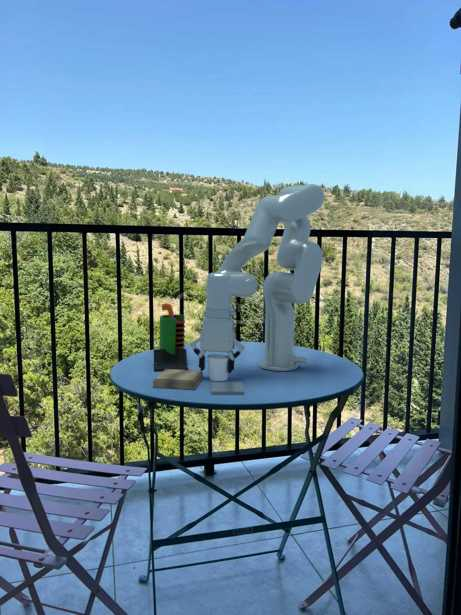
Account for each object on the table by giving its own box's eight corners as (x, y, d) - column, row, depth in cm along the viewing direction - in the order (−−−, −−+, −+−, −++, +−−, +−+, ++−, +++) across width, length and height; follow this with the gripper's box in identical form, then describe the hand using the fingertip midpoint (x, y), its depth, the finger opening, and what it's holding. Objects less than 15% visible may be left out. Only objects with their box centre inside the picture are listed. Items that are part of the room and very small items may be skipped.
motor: (184, 365, 172) (184, 306, 170) (157, 365, 172) (157, 305, 169) (186, 358, 182) (186, 302, 180) (160, 358, 182) (160, 302, 180)
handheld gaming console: (155, 368, 161) (156, 340, 166) (151, 377, 167) (151, 349, 172) (191, 371, 165) (190, 343, 170) (185, 380, 171) (184, 352, 176)
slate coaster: (242, 385, 150) (242, 382, 150) (244, 394, 141) (244, 391, 141) (211, 384, 150) (211, 382, 150) (211, 394, 141) (211, 391, 141)
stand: (202, 378, 157) (202, 370, 156) (194, 389, 145) (194, 381, 144) (164, 376, 158) (164, 368, 158) (153, 387, 146) (153, 378, 146)
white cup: (229, 381, 153) (229, 358, 152) (206, 381, 154) (206, 358, 153) (229, 375, 160) (230, 353, 159) (207, 375, 160) (208, 353, 159)
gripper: (248, 314, 156) (246, 370, 159) (192, 311, 159) (191, 366, 161) (245, 317, 149) (243, 376, 151) (187, 313, 152) (185, 372, 154)
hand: (216, 370), depth 156 cm, fingers open, 8 cm apart
